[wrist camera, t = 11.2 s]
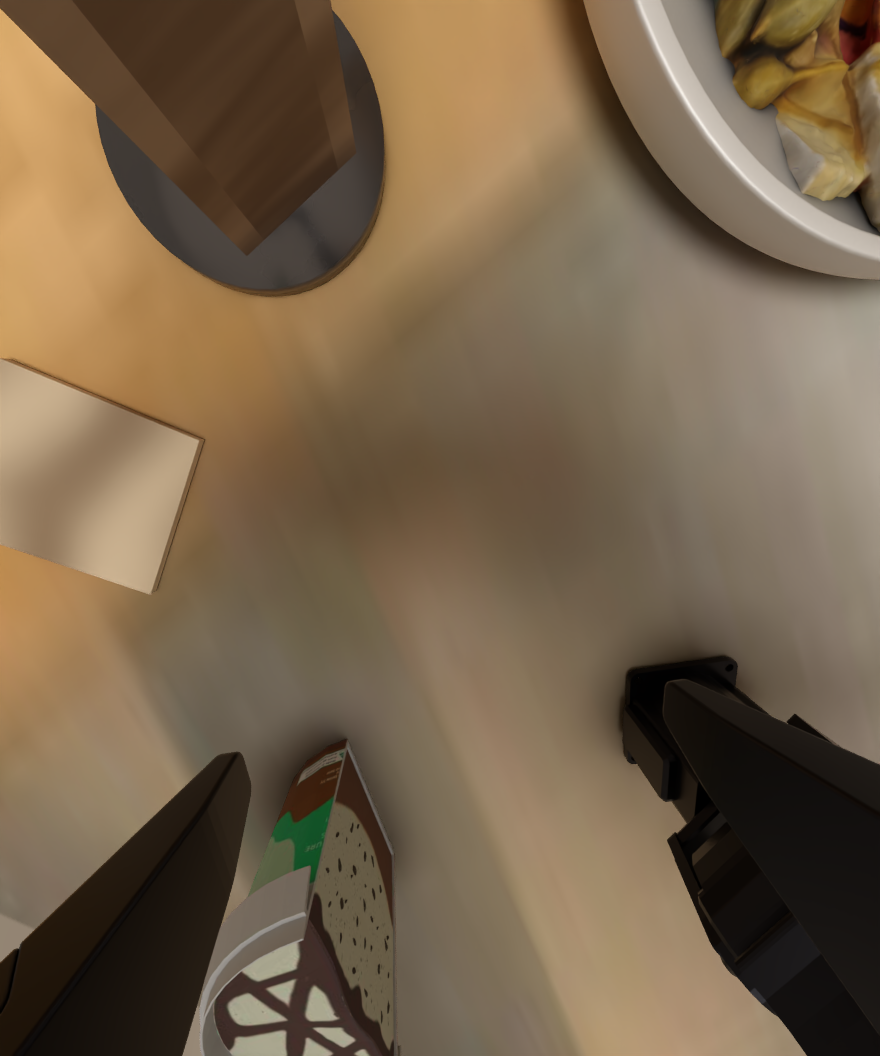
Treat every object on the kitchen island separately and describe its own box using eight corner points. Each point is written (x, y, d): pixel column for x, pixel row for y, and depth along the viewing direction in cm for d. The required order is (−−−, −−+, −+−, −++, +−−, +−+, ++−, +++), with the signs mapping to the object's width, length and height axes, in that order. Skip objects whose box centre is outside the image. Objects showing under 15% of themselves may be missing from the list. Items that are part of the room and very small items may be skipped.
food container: (233, 748, 24) (118, 981, 14) (339, 718, 24) (297, 928, 14) (309, 895, 27) (260, 1162, 17) (401, 868, 27) (401, 1119, 18)
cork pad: (204, 439, 19) (199, 440, 18) (156, 590, 21) (150, 594, 20) (9, 359, 17) (-2, 357, 17) (-26, 529, 19) (-37, 532, 19)
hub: (366, -20, 15) (350, -218, 10) (399, 286, 18) (399, 241, 13) (79, -11, 15) (-78, -216, 10) (159, 305, 17) (67, 265, 13)
